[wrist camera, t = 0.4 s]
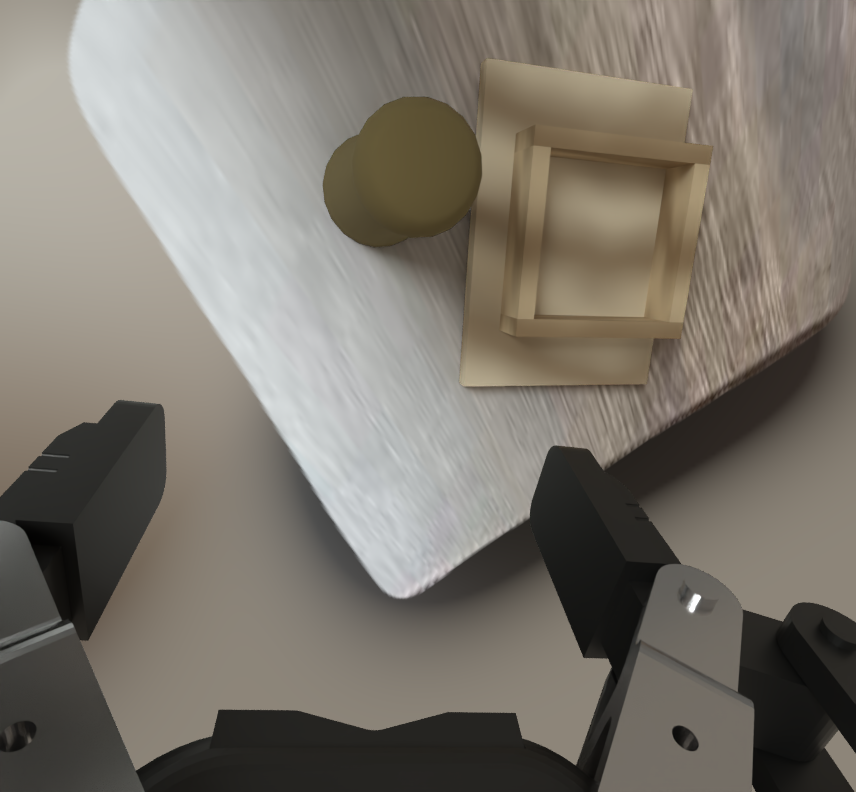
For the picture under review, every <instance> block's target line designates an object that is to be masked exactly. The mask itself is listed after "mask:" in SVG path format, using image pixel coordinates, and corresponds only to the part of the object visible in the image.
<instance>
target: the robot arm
mask: <svg viewBox="0 0 856 792" xmlns="http://www.w3.org/2000/svg"><path fill="white" fill-rule="evenodd" d="M165 481H166V444H165V417H164V409H163V407H162V405H160V404H153V403H144V402H134V401H124V400H118V401H116V403H114V405H113V406H112V407H111V408H110V409H109V410H108V412H107V413H106V414H105V415H104V416H103V417H102V419H101V420H100V421H99V422H98V423H97V424H96V423H85V422H84V423H82V424H80V425H78V426H76V427H74V428H72V429H70V430H68V431H66V432H64V433H62V434H60V435H59V436H57V437H56V438H55V440H54V441H53V442H52V443H51V444H50V445H49V446H48V447H47V448H46V449H45V450H44V451H43V452H42V456H39V457H38V458H37V459H36V460H35V461H34V462H33V463H32V464H31V465H30V466H29V469H28V471H24V472H23V473H22V475H21V476H20V477H19V478H18V479H17V480H16V481H15V482H14V483H13V484H12V485H11V486H10V487H9V488H8V489H7V490H6V491H5V492H4V494H3V495H2V496H1V497H0V792H751V791H752V785H753V787H754V789H755V791H756V792H854V790H853V789H852V787H851V786H850V785H849V783H848V782H847V780H846V779H845V777H844V776H843V774H842V773H841V771H840V770H839V768H838V767H837V765H836V764H835V762H834V761H833V760H832V758H831V757H830V755H829V754H828V752H827V751H826V749H825V748H824V747H825V746H826V745H827V744H828V742H829V741H830V740H831V739H832V737H833V736H834V735H835V734H836V732H837V731H838V730H839V731H840V732H841V734H842V735H843V736H844V738H845V739H846V741H847V742H848V743H849V745H850V746H851V747H852V749H853V750H854V752H855V753H856V623H855V622H854V621H852V620H851V619H849V618H848V617H846V616H844V615H842V614H841V613H839V612H837V611H835V610H833V609H830V608H828V607H825V606H822V605H819V604H814V603H798V604H796V605H794V606H793V607H792V609H791V610H790V612H789V613H788V615H787V616H786V618H785V619H784V621H783V622H782V621H778V620H775V619H772V618H769V617H765V616H762V615H759V614H756V613H752V612H749V611H746V610H743V609H742V607H741V605H740V603H739V601H738V599H737V598H736V597H735V596H734V594H733V593H732V592H731V591H730V590H729V589H728V588H727V587H726V586H725V585H724V584H723V583H721V582H720V581H719V580H717V579H716V578H714V577H713V576H711V575H709V574H707V573H705V572H704V571H701V570H699V569H696V568H693V567H691V566H687V565H682V564H681V563H680V562H679V560H678V559H677V557H676V556H675V554H674V553H673V551H672V550H671V549H670V547H669V546H668V544H667V543H666V542H665V540H664V539H663V537H662V536H661V535H660V533H659V532H658V530H657V529H656V528H655V526H654V525H653V523H652V522H650V521H649V518H648V516H647V515H646V514H645V512H644V511H643V509H642V508H639V504H638V502H637V501H636V499H635V498H634V497H633V495H632V494H631V492H630V491H629V490H628V488H627V487H626V486H624V485H623V484H622V483H621V482H619V481H618V480H617V479H616V478H614V477H613V476H612V475H611V474H609V473H604V471H603V470H602V468H601V467H600V465H599V464H598V462H597V461H596V459H595V458H594V456H593V455H592V453H591V452H590V451H589V450H588V449H584V448H574V447H565V446H553V447H551V448H550V450H549V452H548V454H547V456H546V459H545V463H544V466H543V469H542V472H541V475H540V478H539V481H538V484H537V487H536V490H535V493H534V496H533V499H532V503H531V508H530V524H531V529H532V532H533V534H534V537H535V540H536V542H537V544H538V547H539V549H540V552H541V554H542V557H543V559H544V562H545V564H546V567H547V569H548V571H549V574H550V576H551V579H552V581H553V583H554V586H555V588H556V591H557V594H558V596H559V598H560V601H561V603H562V606H563V608H564V611H565V613H566V616H567V618H568V621H569V623H570V625H571V628H572V630H573V633H574V635H575V638H576V640H577V642H578V645H579V648H580V650H581V652H582V654H583V657H584V658H608V659H609V662H610V664H611V666H612V668H611V670H610V672H609V674H608V676H607V678H606V681H605V684H604V686H603V689H602V693H601V695H600V698H599V701H598V704H597V707H596V710H595V712H594V716H593V719H592V721H591V725H590V727H589V730H588V733H587V736H586V739H585V742H584V744H583V747H582V750H581V753H580V756H579V759H578V761H577V764H576V766H575V765H574V764H573V763H571V762H570V761H568V760H567V759H565V758H564V757H562V756H560V755H559V754H557V753H555V752H553V751H551V750H549V749H548V748H546V747H543V746H541V745H539V744H536V743H534V742H531V741H529V740H525V739H522V736H521V732H520V728H519V724H518V721H517V716H516V713H467V712H466V713H464V712H447V713H443V714H440V715H436V716H432V717H428V718H424V719H421V720H417V721H413V722H409V723H406V724H402V725H398V726H394V727H390V728H386V729H383V730H378V731H377V730H375V731H374V730H366V729H363V728H359V727H356V726H352V725H348V724H344V723H341V722H337V721H334V720H330V719H326V718H323V717H319V716H315V715H311V714H308V713H304V712H300V711H289V710H286V711H285V710H219V711H218V715H217V719H216V723H215V728H214V732H213V736H212V737H208V738H204V739H200V740H197V741H194V742H191V743H189V744H186V745H183V746H180V747H178V748H176V749H174V750H172V751H170V752H168V753H166V754H164V755H162V756H160V757H157V758H156V759H154V760H153V761H151V762H149V763H148V764H146V765H145V766H143V767H141V768H140V769H138V770H135V768H134V766H133V763H132V761H131V759H130V756H129V754H128V752H127V749H126V747H125V745H124V743H123V740H122V738H121V735H120V733H119V731H118V728H117V726H116V724H115V721H114V719H113V717H112V714H111V712H110V710H109V707H108V705H107V703H106V700H105V698H104V696H103V693H102V691H101V689H100V686H99V684H98V681H97V679H96V677H95V675H94V672H93V670H92V667H91V665H90V663H89V660H88V658H87V656H86V653H85V651H84V649H83V646H82V644H81V642H80V640H89V638H90V636H91V634H92V632H93V630H94V628H95V626H96V624H97V623H98V621H99V619H100V617H101V615H102V613H103V611H104V609H105V607H106V605H107V603H108V601H109V599H110V597H111V596H112V594H113V592H114V590H115V588H116V586H117V584H118V582H119V580H120V578H121V576H122V574H123V573H124V571H125V569H126V567H127V565H128V563H129V561H130V559H131V557H132V555H133V553H134V551H135V550H136V547H137V546H138V544H139V542H140V540H141V538H142V536H143V534H144V532H145V530H146V528H147V526H148V524H149V523H150V521H151V519H152V517H153V515H154V513H155V511H156V509H157V507H158V505H159V503H160V501H161V498H162V495H163V492H164V488H165Z"/></svg>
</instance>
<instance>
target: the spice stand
mask: <svg viewBox="0 0 856 792" xmlns="http://www.w3.org/2000/svg"><path fill="white" fill-rule="evenodd" d="M692 91H693V89H688V88H681V87H674V86H668V85H661V84H655V83H648V82H642V81H635V80H629V79H622V78H615V77H609V76H602V75H596V74H589V73H583V72H576V71H570V70H563V69H557V68H550V67H543V66H537V65H530V64H524V63H517V62H511V61H504V60H498V59H491V58H487V59H486V60H484V61H483V62H482V63H481V68H480V83H479V98H478V112H477V127H476V139H477V142H478V145H479V148H480V152H481V155H482V179H481V183H480V187H479V191H478V195H477V197H476V199H475V200H474V202H473V204H472V205H471V216H470V230H469V245H468V260H467V274H466V289H465V304H464V319H463V333H462V348H461V363H460V378H459V383H460V384H462V385H463V386H541V385H621V384H647V378H648V372H649V366H650V359H651V353H652V347H653V340H654V338H661V339H681V333H682V327H683V321H684V315H685V310H686V304H687V298H688V292H689V286H690V280H691V274H692V268H693V262H694V256H695V250H696V245H697V239H698V233H699V227H700V221H701V215H702V209H703V203H704V197H705V191H706V185H707V180H708V174H709V168H710V162H711V156H712V150H713V146H708V145H700V144H692V143H684V142H685V136H686V130H687V123H688V117H689V111H690V104H691V98H692Z"/></svg>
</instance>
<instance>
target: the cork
mask: <svg viewBox="0 0 856 792" xmlns="http://www.w3.org/2000/svg"><path fill="white" fill-rule="evenodd" d="M481 179H482V155H481V152H480V148H479V145H478V142H477V139H476V136H475V134H474V132H473V131H472V129H471V128H470V126H469V125H468V123H467V122H466V120H465V119H464V117H463V116H461V115H460V114H459V113H458V112H456V111H455V110H454V109H453V108H451V107H450V106H449V105H448V104H446V103H443V102H440V101H437V100H435V99H432V98H429V97H402V98H400V99H397V100H395V101H392V102H389V103H387V104H384V105H383V106H382V107H381V108H380V109H379V110H377V111H376V112H375V113H374V114H373V115H372V116H371V117H370V118H368V120H367V121H366V123H365V125H364V127H363V128H362V130H361V132H360V134H359V135H356V136H354V137H351V138H349V139H347V140H346V141H345V142H344V143H343V144H342V145H341V146H339V147H338V148H337V149H336V150H335V151H334V153H333V155H332V157H331V158H330V160H329V162H328V164H327V166H326V170H325V175H324V180H323V191H324V200H325V204H326V207H327V209H328V211H329V214H330V216H331V219H332V220H333V221H334V223H335V224H336V225H337V226H338V227H339V229H340V230H341V231H342V232H343V233H344V234H345V235H347V236H348V237H350V238H351V239H353V240H355V241H356V242H358V243H361V244H364V245H368V246H372V247H383V246H392V245H394V244H396V243H399V242H401V241H404V240H406V239H407V238H408V237H409V238H418V237H433V236H435V235H437V234H440V233H442V232H444V231H447V230H449V229H451V228H452V227H453V226H454V225H455V224H456V223H458V222H459V221H460V220H461V219H462V218H463V217H464V216H465V215H466V214H467V212H468V211H469V209H470V207H471V205H472V204H473V202H474V200H475V199H476V197H477V195H478V191H479V187H480V183H481Z"/></svg>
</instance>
